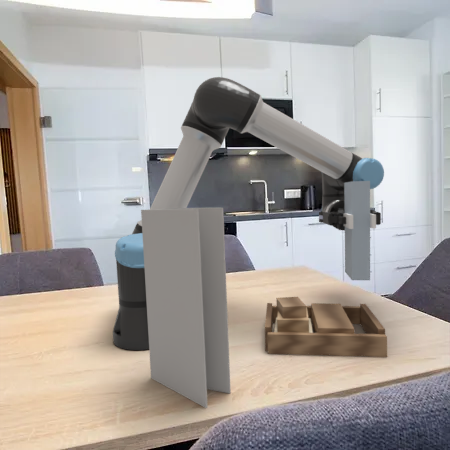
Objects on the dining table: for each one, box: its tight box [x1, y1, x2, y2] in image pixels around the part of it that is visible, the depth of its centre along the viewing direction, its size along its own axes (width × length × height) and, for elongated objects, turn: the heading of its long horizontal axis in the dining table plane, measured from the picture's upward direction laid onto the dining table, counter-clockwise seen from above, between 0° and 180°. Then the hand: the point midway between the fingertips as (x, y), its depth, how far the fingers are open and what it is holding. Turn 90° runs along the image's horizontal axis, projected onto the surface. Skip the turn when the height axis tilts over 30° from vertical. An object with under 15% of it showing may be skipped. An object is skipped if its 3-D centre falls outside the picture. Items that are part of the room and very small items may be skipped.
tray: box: [264, 302, 388, 358], centre depth 79 cm, size 23×18×5 cm
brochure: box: [140, 207, 232, 409], centre depth 60 cm, size 14×6×30 cm, turn 47°
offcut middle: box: [277, 307, 309, 333], centre depth 79 cm, size 6×9×3 cm
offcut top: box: [276, 296, 307, 319], centre depth 79 cm, size 5×7×2 cm
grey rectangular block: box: [344, 181, 371, 281], centre depth 76 cm, size 4×8×20 cm, turn 171°
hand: (362, 221), depth 70 cm, fingers closed on grey rectangular block, 3 cm apart
